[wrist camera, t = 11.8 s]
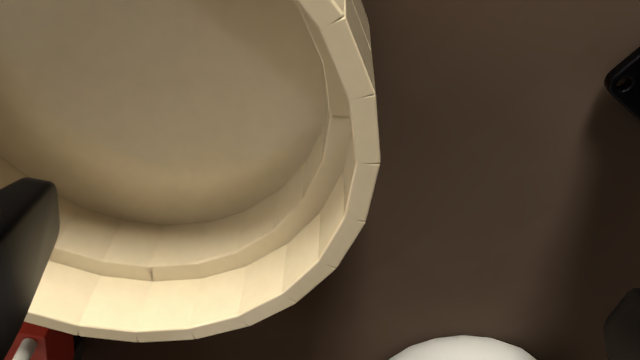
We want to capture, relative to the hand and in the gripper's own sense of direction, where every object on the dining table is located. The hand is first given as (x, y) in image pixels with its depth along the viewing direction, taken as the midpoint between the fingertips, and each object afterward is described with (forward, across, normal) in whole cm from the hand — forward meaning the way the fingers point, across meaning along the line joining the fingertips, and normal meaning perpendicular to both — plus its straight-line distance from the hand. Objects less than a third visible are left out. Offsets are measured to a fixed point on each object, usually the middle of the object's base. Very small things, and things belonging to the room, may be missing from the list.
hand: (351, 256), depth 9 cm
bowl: (+12, +7, +4) cm, 14 cm away
